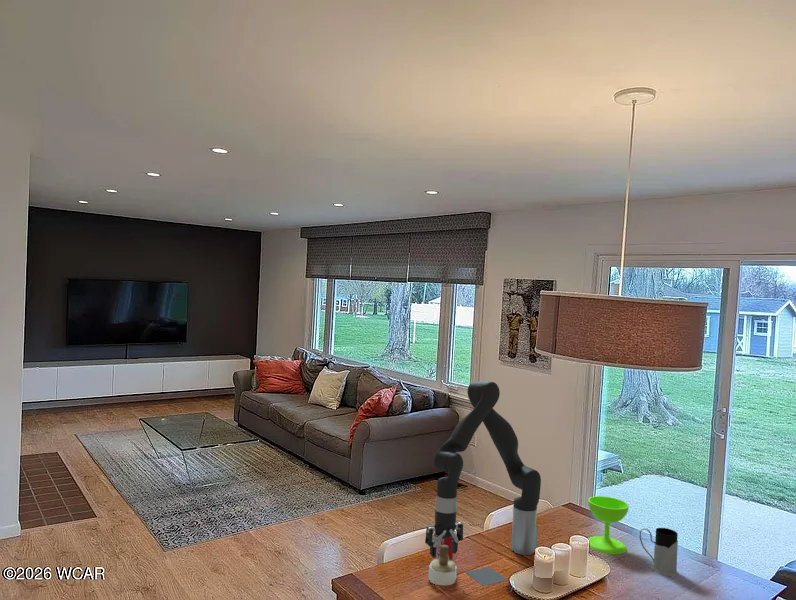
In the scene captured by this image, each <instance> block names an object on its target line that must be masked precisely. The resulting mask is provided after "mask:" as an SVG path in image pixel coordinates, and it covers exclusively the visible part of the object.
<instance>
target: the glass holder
mask: <svg viewBox="0 0 796 600" xmlns="http://www.w3.org/2000/svg"><path fill="white" fill-rule="evenodd" d="M644 530H645V531H647V532H648V533H649V536H650V542H652V543H653V544H654V553H653V555H654V556H652V555H651V553H650V552H649V551H648V550H647V549H646V547H645V546H644V543H643V540H642V535H641V534H642V531H644ZM639 541H640V544H641V546H642V548H643V550H644V551H645V552H646V553H647V555H648V556H649V557H650V558H651V559H652V562H653V565H652V568H651V570H652V571H653V572H654V573H656V574H658V575H660V576H664V577H673V578H675V577H676V576H678V570H677V568H678V567H677V566H678V565H677V564H678V562H677V561H678V546H679V545H678V543H679V541H678V532H677V531H675V530H674V529H670V528H666V527H658V528H655V541H654V540H653V537H652V532H651V531H650V530H649V529H648V528H642V529H640V531H639Z"/></svg>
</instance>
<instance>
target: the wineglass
mask: <svg viewBox="0 0 796 600" xmlns="http://www.w3.org/2000/svg"><path fill="white" fill-rule="evenodd" d="M587 501H588V507H589V510H590V511H591V513H592V514H593V515H594V517H595V518H596V519H597V520H599V521H601V522H603V523H604V531H603V533H604V534H603V536H600V535H595V536H591V537H588V538H587V539H589V541H590V547H589V548H590V549H592V550H595V551H597V552H599V553H603V554H607V555H608V554H610V555H620V554H621V555H622V554H624V553H626V552H627V549H628V548H627V546H626V544H624V543H623V542H621V541H620V540H618V539H616V538H612V537H610V527H611V526H610V524H615V523H617V522H619V521H622V520H623V519H624V518H625V517H626V516H627V514H628V511H629V509H630V508H629V507H630V506H629V504H628V502H625V501H624V500H622V499H619V498H615V497H611V496H606V495H605V496H601V495H598V496H596V495H595V496H590V497H589V498H588V499H587Z"/></svg>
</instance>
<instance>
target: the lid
mask: <svg viewBox="0 0 796 600" xmlns="http://www.w3.org/2000/svg"><path fill="white" fill-rule="evenodd" d="M448 548H449V547H448V546H447V545H440V557H439V559H434V558H433V560H432V561H431V562H432V563H431V562H430V564H431V567H432V568H433V569H434V570H437V571H440V572H451V571H453V570H455V566H456V562H455V561H454V560H453V561H451V560H449V559H448Z"/></svg>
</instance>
